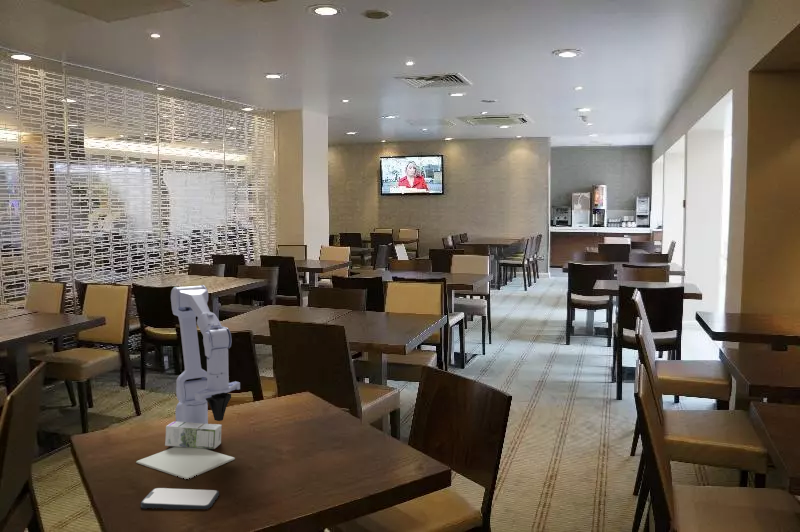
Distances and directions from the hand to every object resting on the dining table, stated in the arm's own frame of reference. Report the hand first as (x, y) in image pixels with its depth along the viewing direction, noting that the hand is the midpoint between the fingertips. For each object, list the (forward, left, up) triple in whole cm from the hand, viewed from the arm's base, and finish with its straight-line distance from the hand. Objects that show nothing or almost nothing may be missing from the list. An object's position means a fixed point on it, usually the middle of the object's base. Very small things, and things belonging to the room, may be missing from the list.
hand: (218, 420), depth 185 cm
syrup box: (-2, +2, -6) cm, 7 cm away
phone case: (+16, -27, -10) cm, 33 cm away
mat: (-2, -10, -9) cm, 14 cm away
